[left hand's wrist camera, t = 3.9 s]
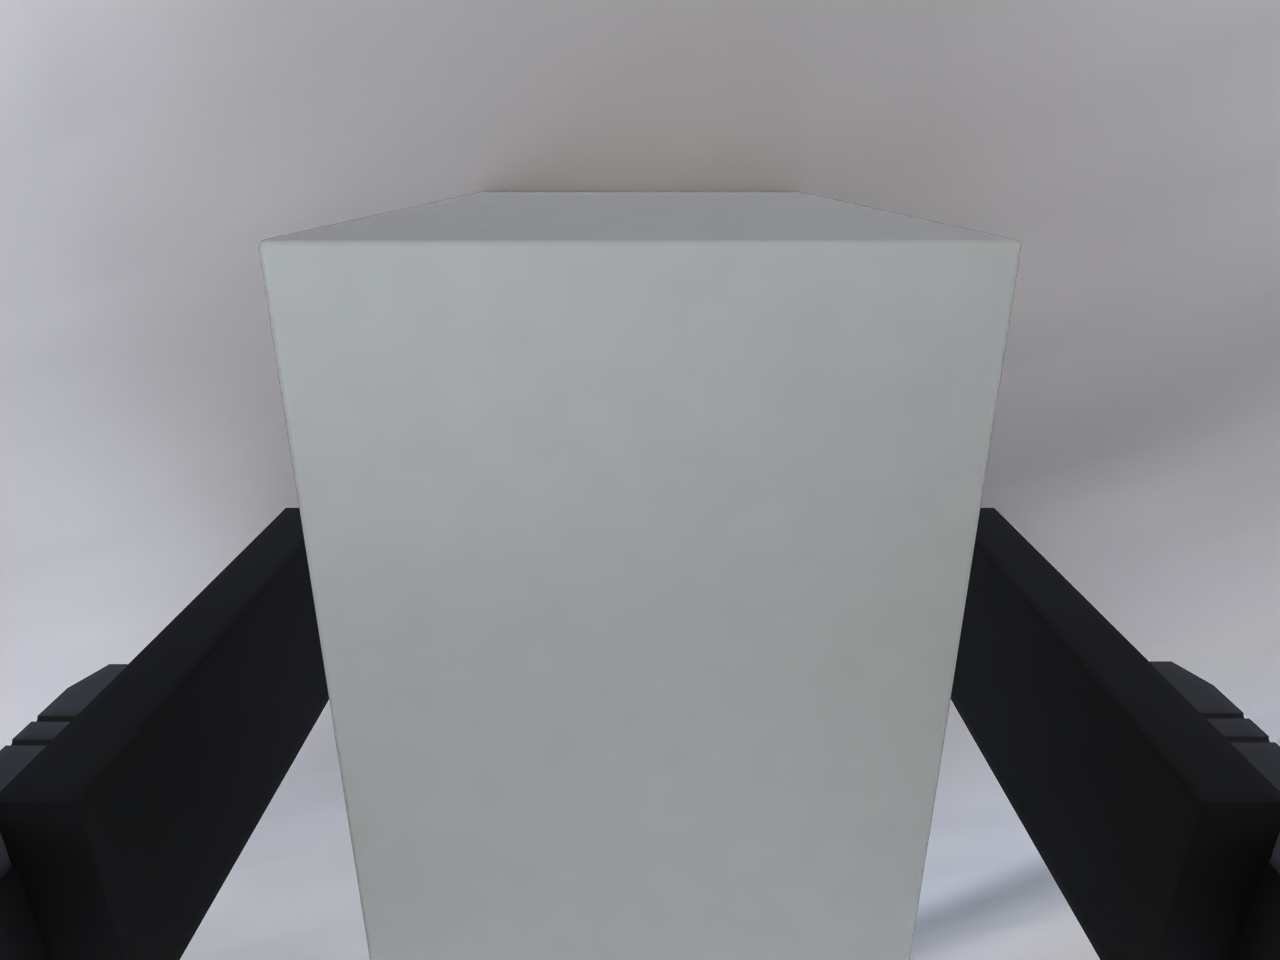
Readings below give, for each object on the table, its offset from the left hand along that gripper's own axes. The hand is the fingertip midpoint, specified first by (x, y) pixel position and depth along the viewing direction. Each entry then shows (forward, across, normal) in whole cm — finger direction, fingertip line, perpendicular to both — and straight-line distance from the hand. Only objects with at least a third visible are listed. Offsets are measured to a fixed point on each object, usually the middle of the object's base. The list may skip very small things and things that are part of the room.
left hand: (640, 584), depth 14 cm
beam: (+1, 0, -21) cm, 21 cm away
